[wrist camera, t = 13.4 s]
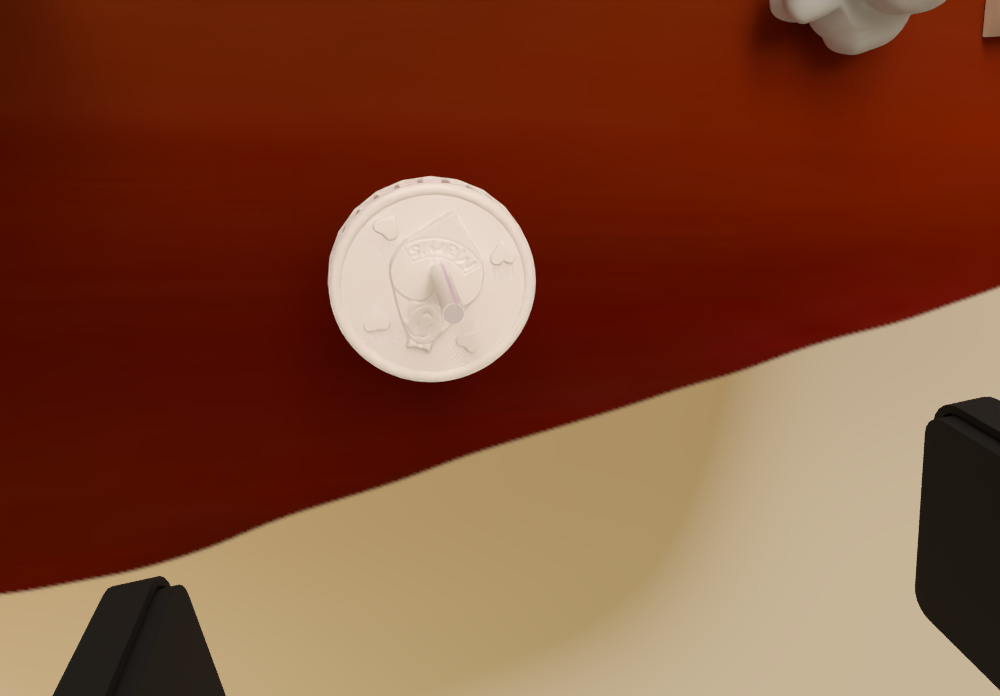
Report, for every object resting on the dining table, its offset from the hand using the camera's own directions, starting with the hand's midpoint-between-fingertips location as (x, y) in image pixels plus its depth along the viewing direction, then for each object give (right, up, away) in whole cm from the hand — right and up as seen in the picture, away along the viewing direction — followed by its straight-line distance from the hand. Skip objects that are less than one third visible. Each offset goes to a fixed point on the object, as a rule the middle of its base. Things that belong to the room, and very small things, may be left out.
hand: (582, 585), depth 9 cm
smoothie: (-5, +8, +23) cm, 25 cm away
